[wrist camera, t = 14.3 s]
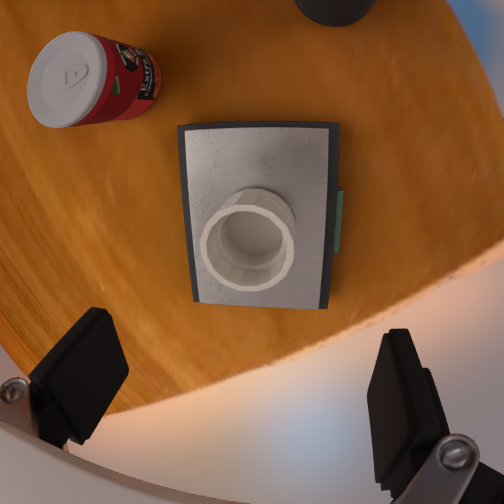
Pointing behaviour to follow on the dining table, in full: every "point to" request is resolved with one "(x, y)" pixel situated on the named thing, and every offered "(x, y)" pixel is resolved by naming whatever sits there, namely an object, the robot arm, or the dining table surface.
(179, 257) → the dining table surface
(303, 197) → the platform
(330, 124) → the scale
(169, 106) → the dining table surface
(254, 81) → the dining table surface
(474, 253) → the dining table surface
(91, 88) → the canned food
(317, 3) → the travel mug
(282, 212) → the white cup
